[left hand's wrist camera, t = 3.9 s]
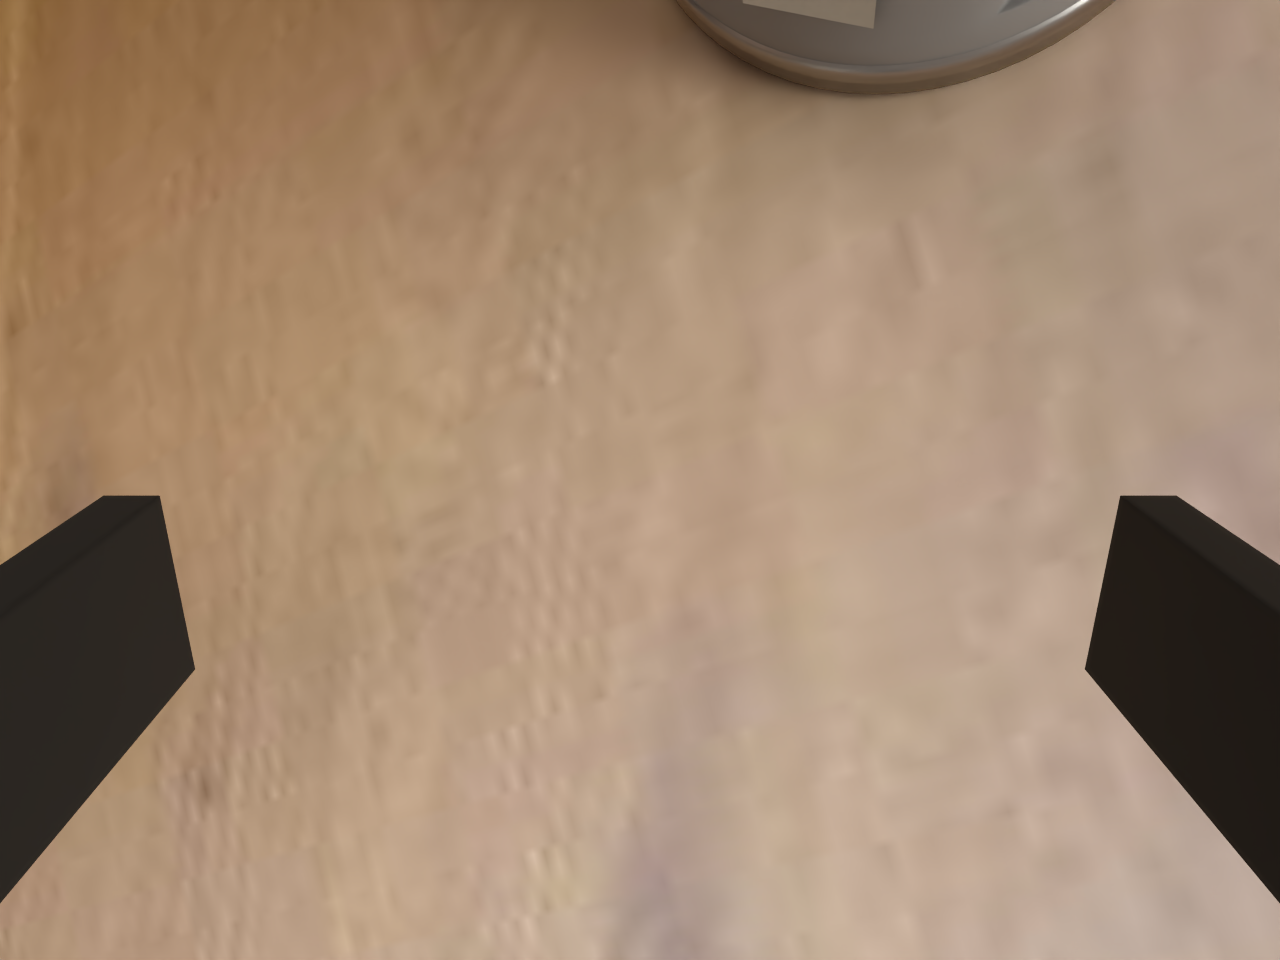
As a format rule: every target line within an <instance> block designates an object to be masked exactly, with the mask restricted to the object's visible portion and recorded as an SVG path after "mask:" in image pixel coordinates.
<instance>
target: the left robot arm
mask: <svg viewBox="0 0 1280 960" xmlns="http://www.w3.org/2000/svg"><path fill="white" fill-rule="evenodd" d="M676 1H677V2H678V4H679V5H680V6H681V8H682V9H683V10H684V11H685V13H686V14H687V15H688V16H689V17H690V18H691V19H692V20H693V21H694V22H695V23H696V24H697V25H698V26H699V27H700V28H701V29H702V30H703V31H704V32H705V33H706V34H707V35H708V36H710V37H711V38H712V39H713V40H715V41H716V42H717V43H718V44H719V45H721V46H722V47H723V48H725V49H726V50H728V51H729V52H731V53H732V54H734V55H736V56H737V57H739V58H740V59H742V60H743V61H745V62H747V63H749V64H751V65H753V66H755V67H757V68H759V69H761V70H763V71H765V72H767V73H770V74H772V75H775V76H778V77H781V78H783V79H786V80H789V81H791V82H795V83H799V84H803V85H806V86H810V87H814V88H818V89H825V90H831V91H838V92H845V93H861V94H890V93H907V92H914V91H922V90H929V89H936V88H940V87H944V86H948V85H953V84H957V83H961V82H966V81H969V80H972V79H975V78H978V77H981V76H984V75H987V74H990V73H993V72H996V71H999V70H1001V69H1003V68H1006V67H1008V66H1010V65H1013V64H1015V63H1017V62H1020V61H1022V60H1024V59H1027V58H1029V57H1030V56H1032V55H1034V54H1036V53H1038V52H1040V51H1042V50H1044V49H1046V48H1047V47H1049V46H1051V45H1053V44H1055V43H1057V42H1058V41H1060V40H1061V39H1063V38H1064V37H1066V36H1068V35H1069V34H1071V33H1072V32H1074V31H1075V30H1077V29H1078V28H1080V27H1082V26H1083V25H1085V24H1086V23H1087V22H1089V21H1090V20H1091V19H1092V18H1094V17H1095V16H1096V15H1098V14H1099V13H1100V12H1102V11H1103V10H1104V9H1105V8H1107V7H1108V6H1109V5H1111V4H1112V3H1113V2H1114V1H1115V0H676ZM194 670H195V666H194V662H193V657H192V652H191V647H190V642H189V637H188V632H187V627H186V622H185V618H184V613H183V608H182V603H181V598H180V593H179V588H178V583H177V578H176V574H175V569H174V564H173V559H172V554H171V549H170V544H169V539H168V534H167V530H166V525H165V520H164V515H163V510H162V505H161V500H160V496H102V497H101V498H99V499H98V500H96V501H95V502H93V503H92V504H90V505H89V506H88V507H86V508H85V509H83V510H82V511H80V512H79V513H77V514H76V515H74V516H73V517H71V518H70V519H68V520H67V521H65V522H64V523H62V524H61V525H59V526H58V527H56V528H55V529H53V530H52V531H50V532H49V533H47V534H46V535H44V536H43V537H41V538H40V539H38V540H37V541H35V542H34V543H33V544H31V545H30V546H28V547H27V548H25V549H24V550H22V551H21V552H19V553H18V554H16V555H15V556H13V557H12V558H10V559H9V560H7V561H6V562H4V563H3V564H1V565H0V903H1V902H2V900H3V899H4V898H5V897H6V896H7V894H8V893H9V892H10V891H11V890H12V888H13V887H14V886H15V885H16V884H17V882H18V881H19V880H20V879H21V878H22V876H23V875H24V874H25V873H26V872H27V870H28V869H29V868H30V867H31V866H32V864H33V863H34V862H35V861H36V860H37V858H38V857H39V856H40V855H41V854H42V852H43V851H44V850H45V849H46V848H47V846H48V845H49V844H50V843H51V842H52V840H53V839H54V838H55V837H56V836H57V834H58V833H59V832H60V831H61V830H62V828H63V827H64V826H65V825H66V824H67V822H68V821H69V820H70V819H71V818H72V816H73V815H74V814H75V813H76V812H77V810H78V809H79V808H80V807H81V806H82V804H83V803H84V802H85V801H86V800H87V798H88V797H89V796H90V795H91V794H92V792H93V791H94V790H95V789H96V788H97V786H98V785H99V784H100V783H101V782H102V780H103V779H104V778H105V777H106V776H107V774H108V773H109V772H110V771H111V770H112V768H113V767H114V766H115V765H116V764H117V762H118V761H119V760H120V759H121V758H122V756H123V755H124V754H125V753H126V752H127V750H128V749H129V748H130V747H131V746H132V744H133V743H134V742H135V741H136V740H137V738H138V737H139V736H140V735H141V734H142V732H143V731H144V730H145V729H146V728H147V726H148V725H149V724H150V723H151V722H152V720H153V719H154V718H155V717H156V715H157V714H158V713H159V712H160V711H161V709H162V708H163V707H164V706H165V705H166V703H167V702H168V701H169V700H170V699H171V697H172V696H173V695H174V694H175V693H176V691H177V690H178V689H179V688H180V687H181V685H182V684H183V683H184V682H185V681H186V679H187V678H188V677H189V676H190V675H191V673H192V672H193V671H194ZM1085 670H1086V671H1087V672H1088V673H1089V675H1090V676H1091V677H1092V678H1093V679H1094V681H1095V682H1096V683H1097V684H1098V685H1099V687H1100V688H1101V689H1102V690H1103V691H1104V693H1105V694H1106V695H1107V696H1108V697H1109V699H1110V700H1111V701H1112V702H1113V703H1114V705H1115V706H1116V707H1117V708H1118V709H1119V711H1120V712H1121V713H1122V714H1123V715H1124V717H1125V718H1126V719H1127V720H1128V722H1129V723H1130V724H1131V725H1132V726H1133V728H1134V729H1135V730H1136V731H1137V732H1138V734H1139V735H1140V736H1141V737H1142V738H1143V740H1144V741H1145V742H1146V743H1147V744H1148V746H1149V747H1150V748H1151V749H1152V750H1153V752H1154V753H1155V754H1156V755H1157V756H1158V758H1159V759H1160V760H1161V761H1162V762H1163V764H1164V765H1165V766H1166V767H1167V768H1168V770H1169V771H1170V772H1171V773H1172V774H1173V776H1174V777H1175V778H1176V779H1177V780H1178V782H1179V783H1180V784H1181V785H1182V786H1183V788H1184V789H1185V790H1186V791H1187V792H1188V794H1189V795H1190V796H1191V797H1192V798H1193V800H1194V801H1195V802H1196V803H1197V804H1198V806H1199V807H1200V808H1201V809H1202V810H1203V812H1204V813H1205V814H1206V815H1207V816H1208V818H1209V819H1210V820H1211V821H1212V822H1213V824H1214V825H1215V826H1216V827H1217V828H1218V830H1219V831H1220V832H1221V833H1222V834H1223V836H1224V837H1225V838H1226V839H1227V840H1228V842H1229V843H1230V844H1231V845H1232V846H1233V848H1234V849H1235V850H1236V851H1237V852H1238V854H1239V855H1240V856H1241V857H1242V858H1243V860H1244V861H1245V862H1246V863H1247V864H1248V866H1249V867H1250V868H1251V869H1252V870H1253V872H1254V873H1255V874H1256V875H1257V876H1258V878H1259V879H1260V880H1261V881H1262V882H1263V884H1264V885H1265V886H1266V887H1267V888H1268V890H1269V891H1270V892H1271V893H1272V894H1273V896H1274V897H1275V898H1276V899H1277V900H1278V902H1279V903H1280V565H1279V564H1277V563H1276V562H1274V561H1273V560H1271V559H1270V558H1268V557H1267V556H1265V555H1264V554H1262V553H1261V552H1259V551H1258V550H1256V549H1255V548H1253V547H1252V546H1250V545H1249V544H1247V543H1246V542H1245V541H1243V540H1242V539H1240V538H1239V537H1237V536H1236V535H1234V534H1233V533H1231V532H1230V531H1228V530H1227V529H1225V528H1224V527H1222V526H1221V525H1219V524H1218V523H1216V522H1215V521H1213V520H1212V519H1210V518H1209V517H1207V516H1206V515H1204V514H1203V513H1201V512H1200V511H1198V510H1197V509H1195V508H1194V507H1192V506H1191V505H1190V504H1188V503H1187V502H1185V501H1184V500H1182V499H1181V498H1179V497H1178V496H1120V500H1119V505H1118V510H1117V515H1116V520H1115V525H1114V530H1113V534H1112V539H1111V544H1110V549H1109V554H1108V559H1107V564H1106V569H1105V574H1104V578H1103V583H1102V588H1101V593H1100V598H1099V603H1098V608H1097V613H1096V618H1095V622H1094V627H1093V632H1092V637H1091V642H1090V647H1089V652H1088V657H1087V662H1086V666H1085Z"/></svg>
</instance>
